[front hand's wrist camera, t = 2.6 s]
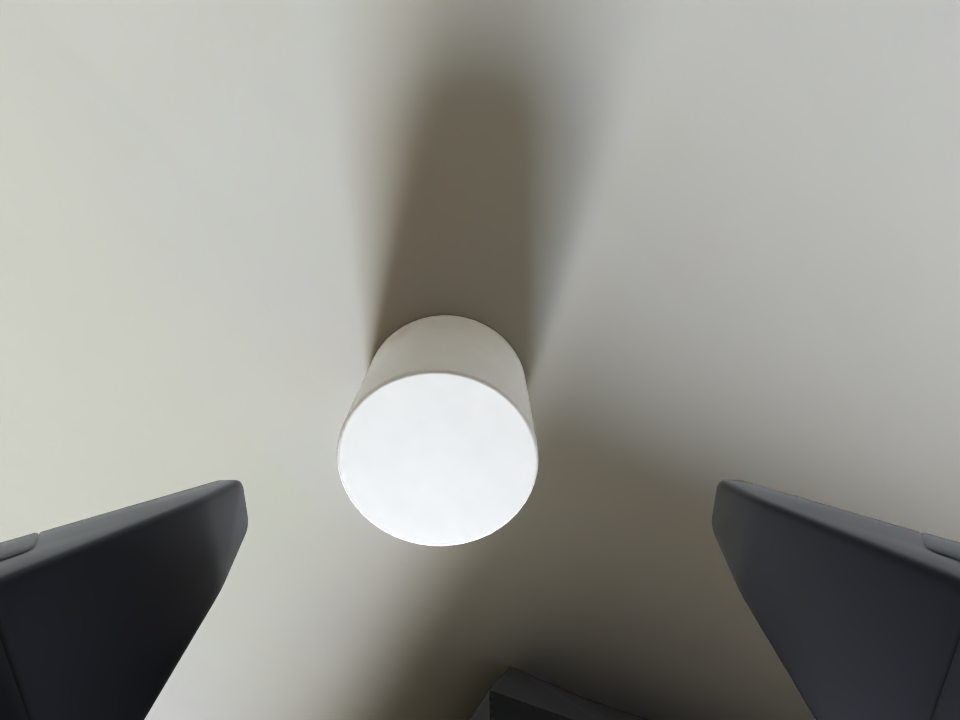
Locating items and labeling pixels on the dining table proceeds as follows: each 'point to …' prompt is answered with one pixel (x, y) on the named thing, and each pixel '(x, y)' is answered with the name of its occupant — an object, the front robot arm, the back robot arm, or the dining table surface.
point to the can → (440, 434)
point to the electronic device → (539, 702)
